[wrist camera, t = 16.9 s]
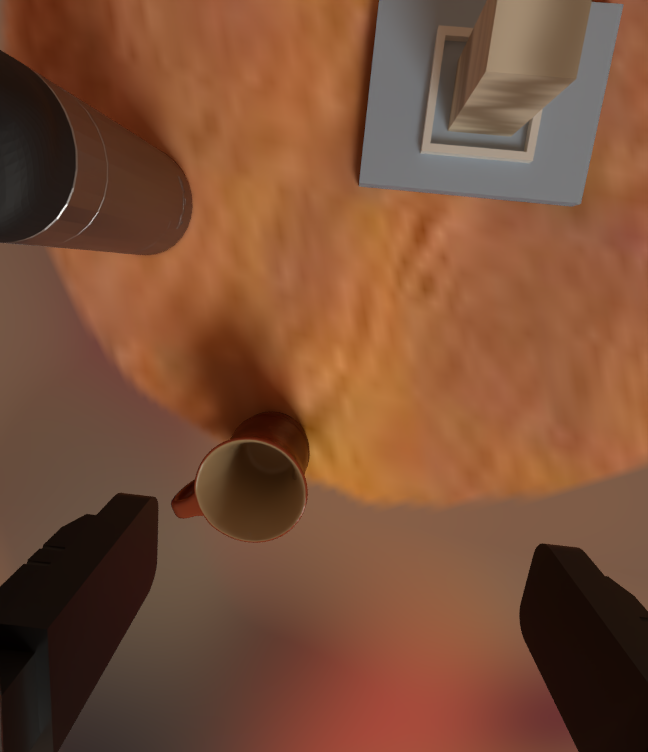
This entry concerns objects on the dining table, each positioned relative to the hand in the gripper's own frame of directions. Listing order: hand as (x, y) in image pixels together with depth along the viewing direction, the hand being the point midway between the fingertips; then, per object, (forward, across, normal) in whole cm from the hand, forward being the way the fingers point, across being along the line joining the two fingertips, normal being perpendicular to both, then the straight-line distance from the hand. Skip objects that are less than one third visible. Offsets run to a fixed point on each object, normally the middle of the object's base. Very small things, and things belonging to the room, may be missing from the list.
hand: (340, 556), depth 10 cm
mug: (+33, +6, +13) cm, 36 cm away
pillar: (+32, -9, -19) cm, 38 cm away
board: (+34, -9, -19) cm, 40 cm away
